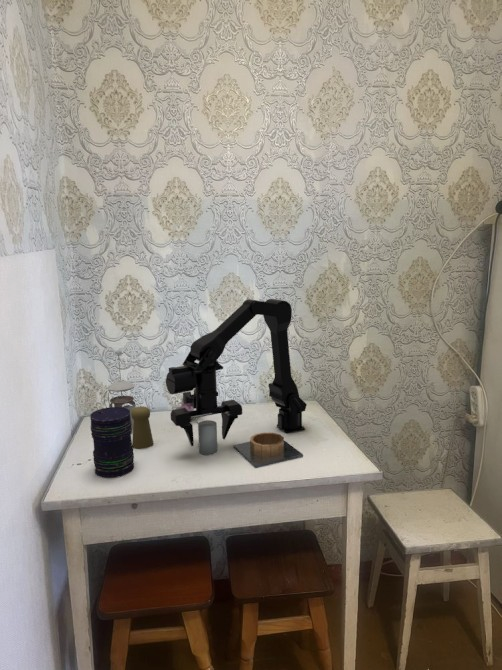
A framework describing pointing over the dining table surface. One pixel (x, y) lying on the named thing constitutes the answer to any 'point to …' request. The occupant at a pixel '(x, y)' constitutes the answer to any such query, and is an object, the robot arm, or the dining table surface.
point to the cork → (141, 428)
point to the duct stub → (207, 437)
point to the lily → (186, 407)
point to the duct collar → (267, 449)
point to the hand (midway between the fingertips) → (208, 442)
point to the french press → (120, 387)
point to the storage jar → (112, 442)
